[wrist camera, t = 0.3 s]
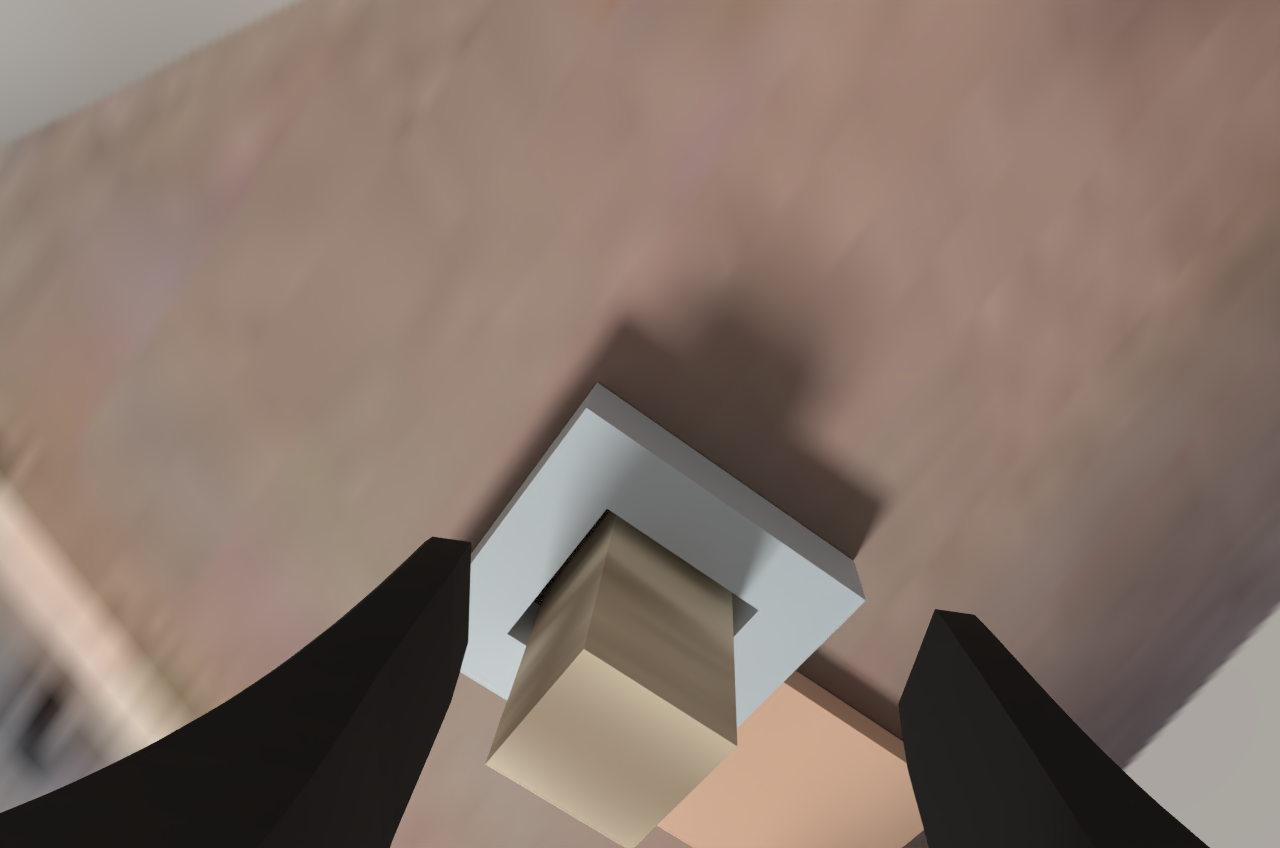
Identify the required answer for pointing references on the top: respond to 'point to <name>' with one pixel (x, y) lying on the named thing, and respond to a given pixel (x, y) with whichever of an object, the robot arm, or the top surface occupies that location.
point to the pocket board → (675, 518)
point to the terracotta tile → (803, 781)
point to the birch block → (622, 686)
